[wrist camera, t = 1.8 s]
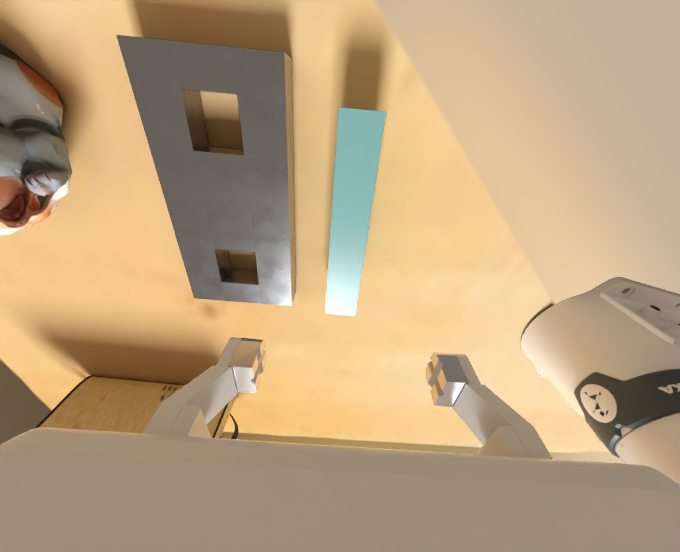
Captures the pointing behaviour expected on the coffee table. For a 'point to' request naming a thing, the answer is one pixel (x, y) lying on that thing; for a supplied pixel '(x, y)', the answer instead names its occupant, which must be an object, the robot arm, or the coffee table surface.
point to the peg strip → (352, 204)
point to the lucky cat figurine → (29, 146)
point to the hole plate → (222, 162)
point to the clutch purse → (120, 406)
